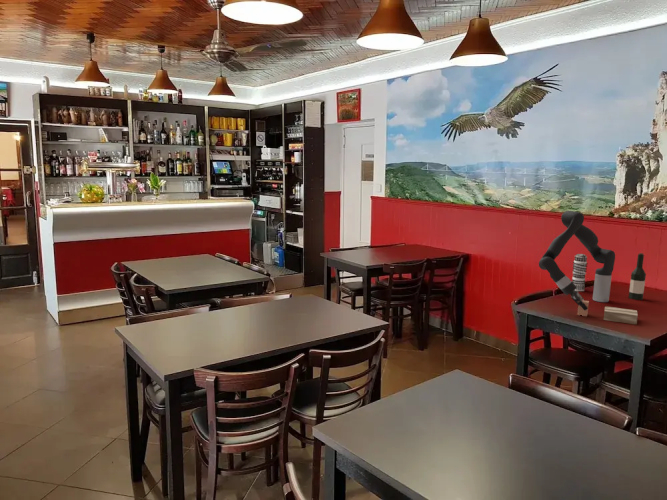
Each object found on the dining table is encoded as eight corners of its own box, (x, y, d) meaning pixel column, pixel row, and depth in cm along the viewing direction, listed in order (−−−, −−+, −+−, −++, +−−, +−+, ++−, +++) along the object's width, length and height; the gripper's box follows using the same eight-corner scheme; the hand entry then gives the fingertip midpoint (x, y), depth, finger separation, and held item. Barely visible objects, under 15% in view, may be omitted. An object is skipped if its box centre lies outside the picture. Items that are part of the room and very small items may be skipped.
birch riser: (604, 314, 298) (605, 306, 297) (636, 319, 290) (637, 310, 290) (603, 319, 288) (604, 311, 287) (636, 324, 280) (637, 315, 279)
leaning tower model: (582, 292, 352) (586, 256, 348) (568, 289, 359) (571, 254, 355) (586, 289, 359) (590, 254, 355) (573, 287, 365) (576, 252, 361)
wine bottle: (637, 300, 332) (643, 254, 327) (625, 297, 340) (630, 252, 335) (645, 299, 336) (651, 254, 331) (633, 296, 343) (638, 252, 339)
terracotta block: (577, 313, 300) (579, 299, 299) (587, 314, 298) (588, 300, 296) (577, 315, 296) (578, 301, 294) (586, 316, 293) (588, 302, 292)
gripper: (570, 283, 291) (591, 307, 287) (572, 278, 303) (592, 301, 300) (559, 291, 294) (580, 315, 291) (561, 286, 307) (582, 309, 303)
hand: (586, 308), depth 295 cm, fingers closed on terracotta block, 5 cm apart
